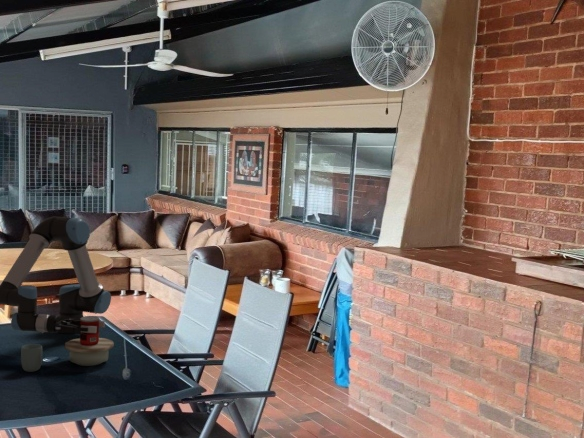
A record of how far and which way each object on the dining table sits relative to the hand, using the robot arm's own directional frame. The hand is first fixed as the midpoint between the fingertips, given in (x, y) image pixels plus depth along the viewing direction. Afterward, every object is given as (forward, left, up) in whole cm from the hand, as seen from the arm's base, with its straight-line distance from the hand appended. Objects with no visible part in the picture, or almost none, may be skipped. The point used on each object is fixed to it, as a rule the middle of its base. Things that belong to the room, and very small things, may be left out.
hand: (100, 327), depth 283 cm
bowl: (0, -4, -16) cm, 16 cm away
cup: (+16, -22, -16) cm, 32 cm away
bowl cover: (0, -4, -9) cm, 10 cm away
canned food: (0, -5, -8) cm, 9 cm away
